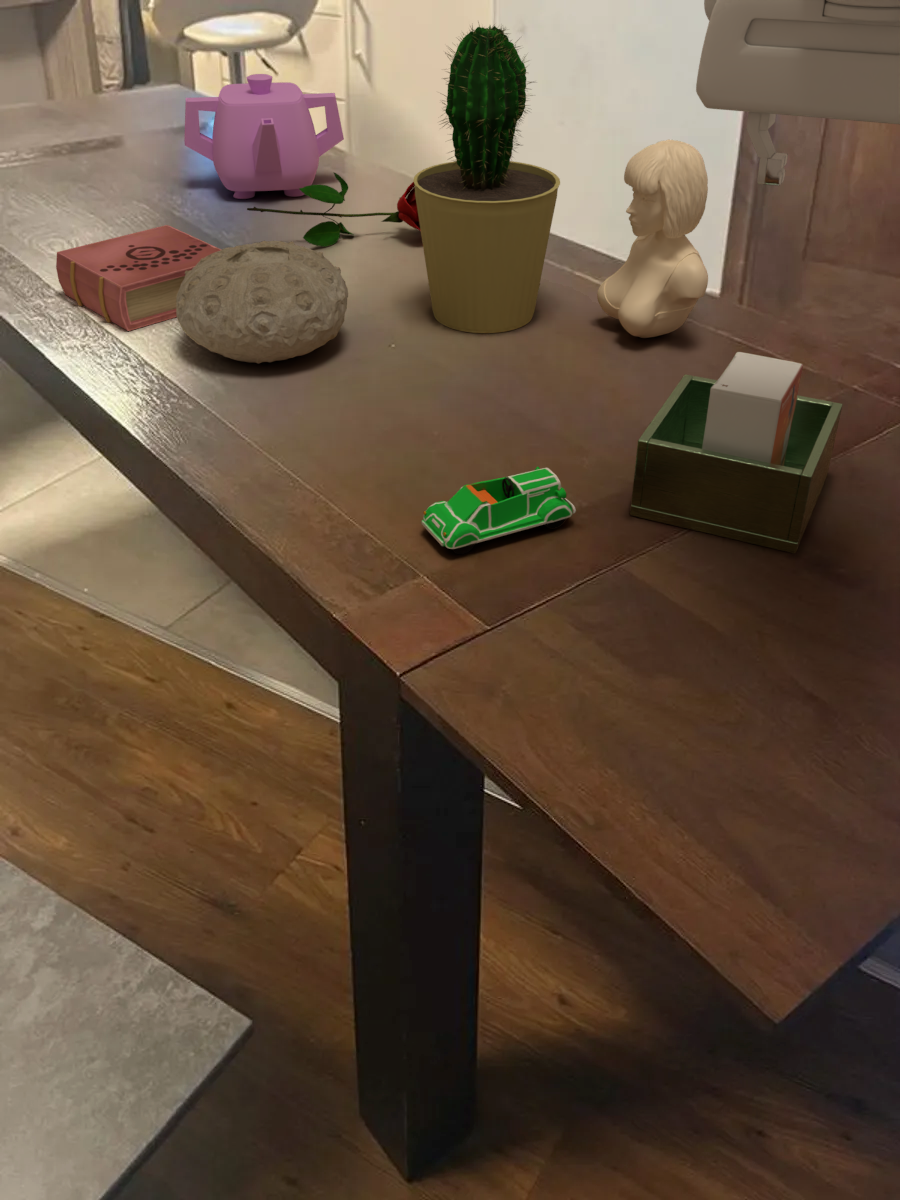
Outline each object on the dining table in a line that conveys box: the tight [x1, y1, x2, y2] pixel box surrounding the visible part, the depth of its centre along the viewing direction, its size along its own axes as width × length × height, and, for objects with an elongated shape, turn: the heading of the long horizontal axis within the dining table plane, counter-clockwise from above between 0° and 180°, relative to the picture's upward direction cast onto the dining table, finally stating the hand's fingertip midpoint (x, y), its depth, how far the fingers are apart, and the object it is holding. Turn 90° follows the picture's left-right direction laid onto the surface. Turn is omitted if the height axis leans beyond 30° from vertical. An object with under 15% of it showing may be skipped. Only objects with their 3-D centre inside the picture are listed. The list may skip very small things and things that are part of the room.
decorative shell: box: [176, 240, 349, 365], centre depth 123 cm, size 18×18×10 cm
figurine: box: [596, 139, 709, 339], centre depth 123 cm, size 14×9×20 cm
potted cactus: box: [412, 21, 561, 334], centre depth 124 cm, size 15×15×30 cm
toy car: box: [420, 466, 577, 555], centre depth 95 cm, size 12×5×4 cm, turn 117°
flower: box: [246, 171, 421, 248], centre depth 150 cm, size 9×10×30 cm
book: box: [55, 224, 222, 332], centre depth 135 cm, size 14×15×5 cm
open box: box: [629, 374, 843, 554], centre depth 98 cm, size 14×14×7 cm
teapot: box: [183, 73, 345, 200], centre depth 167 cm, size 19×18×15 cm
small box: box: [702, 351, 804, 466], centre depth 96 cm, size 8×6×10 cm
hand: (842, 190), depth 77 cm, fingers open, 8 cm apart
